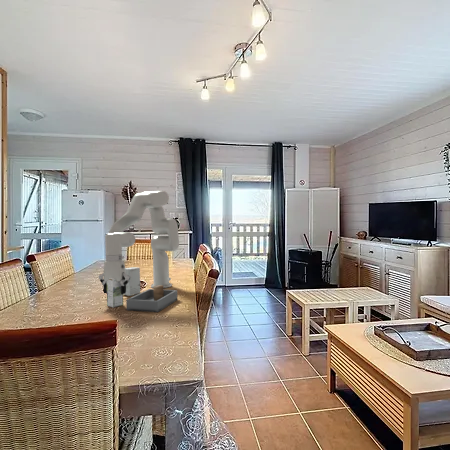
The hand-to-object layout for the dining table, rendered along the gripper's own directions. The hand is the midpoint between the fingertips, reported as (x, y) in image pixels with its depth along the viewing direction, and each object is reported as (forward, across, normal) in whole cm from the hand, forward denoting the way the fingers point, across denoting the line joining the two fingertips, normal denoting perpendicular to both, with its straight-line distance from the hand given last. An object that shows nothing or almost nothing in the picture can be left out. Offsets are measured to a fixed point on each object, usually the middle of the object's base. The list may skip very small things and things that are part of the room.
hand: (114, 293), depth 157 cm
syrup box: (+6, 0, 0) cm, 7 cm away
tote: (+6, -18, -5) cm, 20 cm away
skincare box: (+6, +5, -23) cm, 25 cm away
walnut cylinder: (+5, -18, -11) cm, 22 cm away
